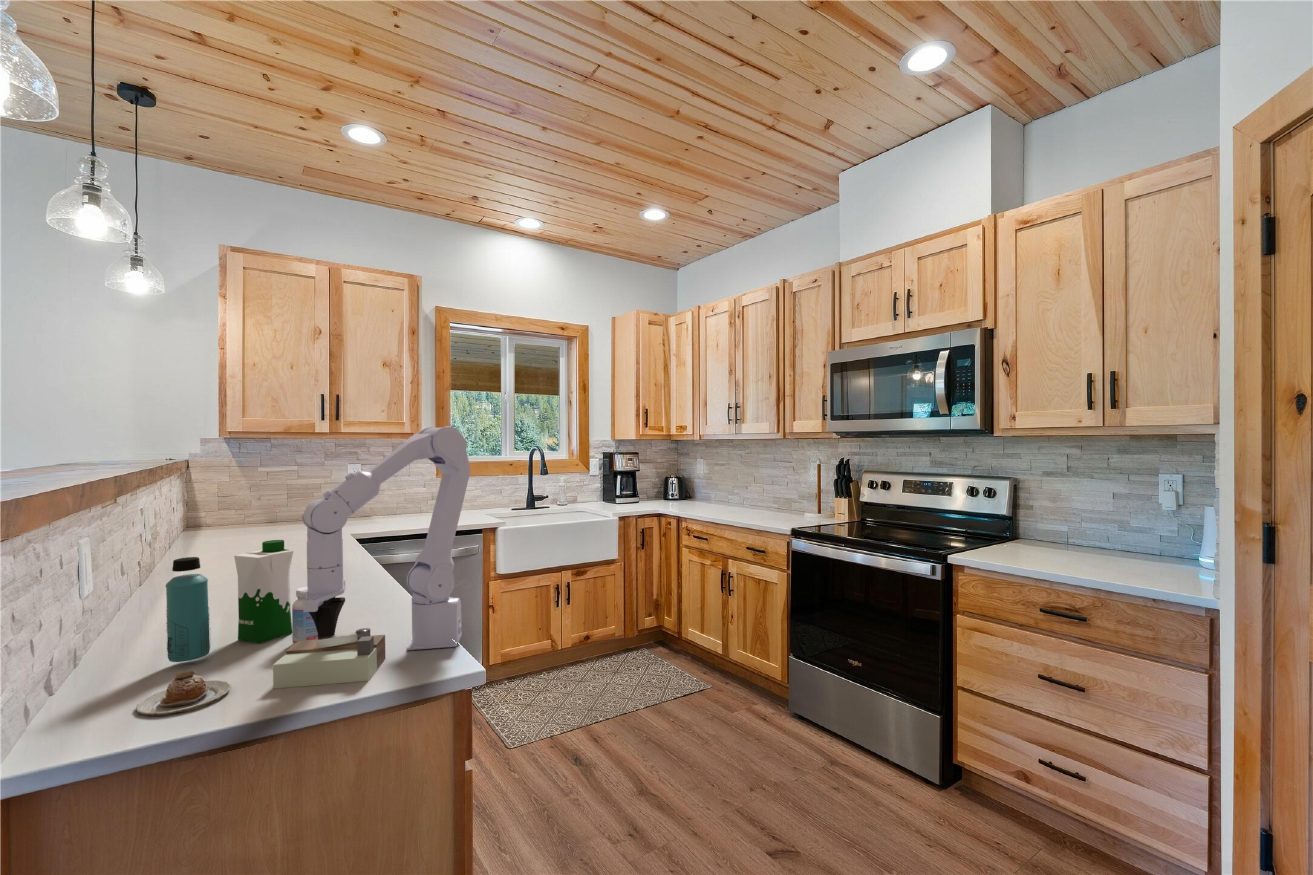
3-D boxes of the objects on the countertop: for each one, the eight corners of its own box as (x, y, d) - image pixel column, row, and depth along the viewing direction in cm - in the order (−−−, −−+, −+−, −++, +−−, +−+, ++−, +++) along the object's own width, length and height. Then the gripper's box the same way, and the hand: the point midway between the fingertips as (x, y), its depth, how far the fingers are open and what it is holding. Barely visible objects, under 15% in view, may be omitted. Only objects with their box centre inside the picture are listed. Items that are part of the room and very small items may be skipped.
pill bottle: (311, 648, 119) (310, 592, 119) (285, 646, 120) (284, 591, 120) (333, 638, 125) (332, 584, 125) (308, 636, 126) (307, 583, 126)
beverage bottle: (219, 659, 114) (217, 555, 114) (181, 672, 107) (179, 562, 107) (195, 656, 116) (193, 553, 116) (157, 668, 109) (155, 560, 109)
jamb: (385, 658, 113) (385, 634, 113) (377, 669, 108) (376, 644, 108) (299, 664, 110) (299, 640, 110) (286, 676, 105) (286, 651, 105)
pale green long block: (377, 669, 107) (376, 633, 107) (368, 680, 102) (368, 643, 102) (286, 676, 105) (285, 639, 105) (273, 688, 100) (272, 649, 100)
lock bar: (370, 637, 111) (370, 627, 111) (370, 640, 109) (370, 630, 109) (316, 645, 107) (316, 635, 107) (316, 649, 105) (316, 639, 105)
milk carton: (299, 632, 129) (297, 540, 129) (257, 646, 121) (256, 548, 121) (271, 628, 132) (270, 538, 132) (229, 641, 124) (227, 545, 124)
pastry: (245, 684, 103) (244, 657, 103) (204, 716, 91) (204, 686, 91) (168, 690, 101) (167, 663, 101) (116, 724, 89) (115, 693, 89)
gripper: (317, 558, 114) (318, 629, 114) (283, 576, 100) (284, 656, 100) (356, 556, 115) (357, 626, 115) (328, 573, 101) (329, 653, 101)
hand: (326, 640), depth 108 cm, fingers closed, pressing on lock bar
